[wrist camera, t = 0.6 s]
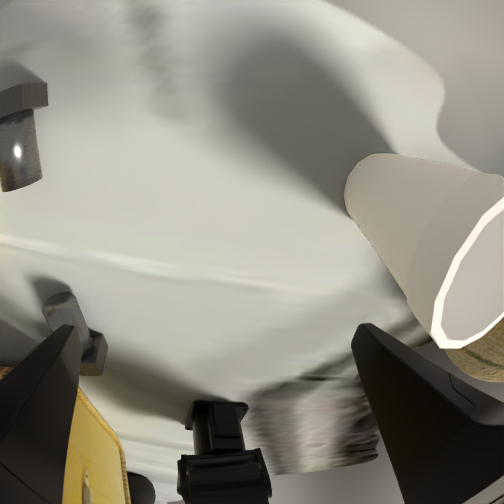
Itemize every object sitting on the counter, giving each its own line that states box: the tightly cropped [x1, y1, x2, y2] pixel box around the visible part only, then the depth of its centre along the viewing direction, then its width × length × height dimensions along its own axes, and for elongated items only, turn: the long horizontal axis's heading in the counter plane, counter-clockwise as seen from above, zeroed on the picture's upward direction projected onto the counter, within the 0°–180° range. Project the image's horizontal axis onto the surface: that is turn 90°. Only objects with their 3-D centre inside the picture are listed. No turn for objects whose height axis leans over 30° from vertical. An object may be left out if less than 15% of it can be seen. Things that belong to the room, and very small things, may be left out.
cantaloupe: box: [444, 317, 504, 382], centre depth 24 cm, size 15×15×15 cm
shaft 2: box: [42, 293, 108, 376], centre depth 22 cm, size 6×4×4 cm
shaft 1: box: [0, 84, 48, 192], centre depth 14 cm, size 6×4×4 cm
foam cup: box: [343, 153, 504, 349], centre depth 17 cm, size 10×9×13 cm
